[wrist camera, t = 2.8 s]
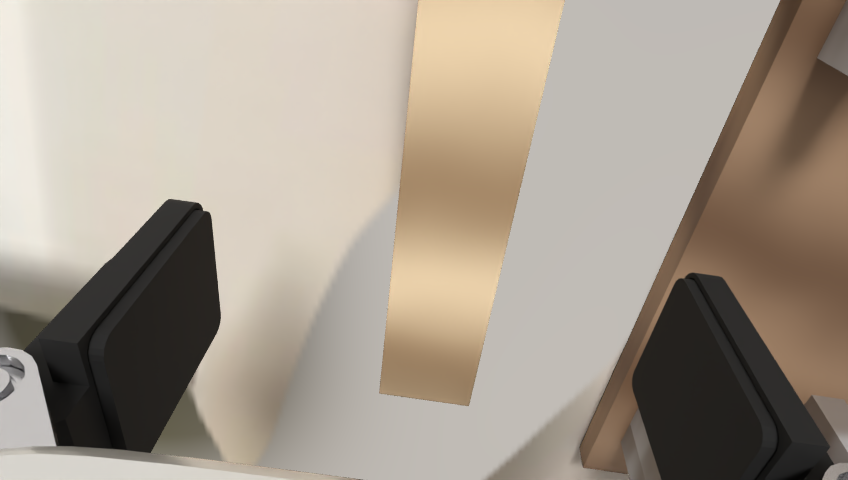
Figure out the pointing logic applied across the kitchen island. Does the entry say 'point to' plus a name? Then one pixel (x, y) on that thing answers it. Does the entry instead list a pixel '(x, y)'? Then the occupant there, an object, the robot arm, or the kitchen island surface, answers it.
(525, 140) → the oak slat
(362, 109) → the kitchen island surface
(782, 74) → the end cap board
